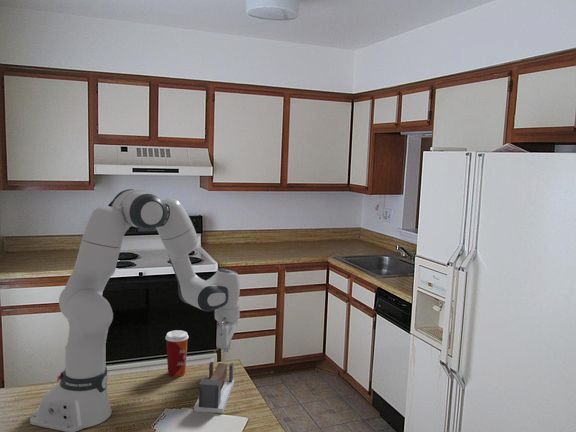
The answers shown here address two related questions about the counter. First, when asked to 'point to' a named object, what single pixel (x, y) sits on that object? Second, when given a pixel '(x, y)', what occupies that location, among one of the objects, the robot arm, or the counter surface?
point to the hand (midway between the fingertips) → (226, 350)
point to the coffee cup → (176, 352)
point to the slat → (220, 373)
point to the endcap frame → (214, 393)
